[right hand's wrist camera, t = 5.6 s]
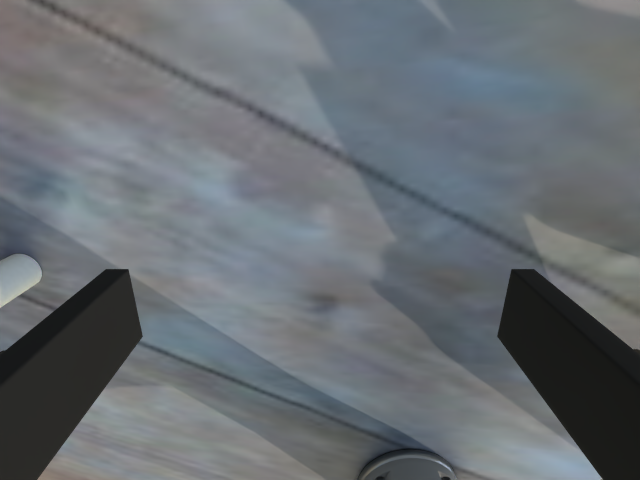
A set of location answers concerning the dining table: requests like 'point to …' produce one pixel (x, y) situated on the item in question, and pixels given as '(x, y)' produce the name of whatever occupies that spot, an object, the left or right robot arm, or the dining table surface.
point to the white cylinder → (17, 276)
